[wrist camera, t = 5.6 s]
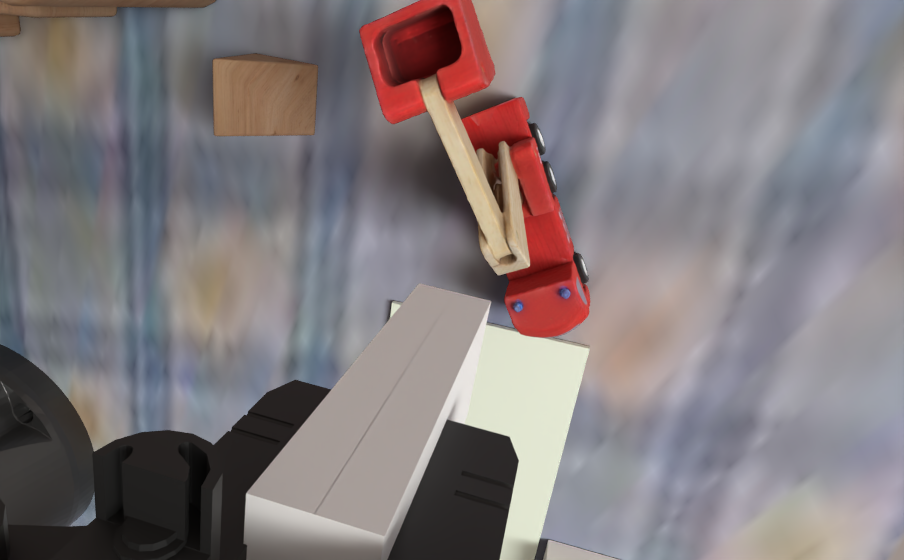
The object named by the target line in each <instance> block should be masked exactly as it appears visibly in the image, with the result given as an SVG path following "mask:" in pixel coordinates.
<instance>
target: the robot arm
mask: <svg viewBox="0 0 904 560" xmlns="http://www.w3.org/2000/svg"><path fill="white" fill-rule="evenodd" d="M490 304H491V301H489V300H485V299H481V298H477V297H473V296H469V295H465V294H460V293H456V292H452V291H448V290H444V289H440V288H436V287H432V286H428V285H423V284H418V285H417V287H416V288H415V289H414V290H413V291H412V293H411V294H410V295H409V296H408V297H407V299H406V300H405V301H404V302H403V304H402V305H401V306H400V307H399V308H398V310H397V311H396V312H395V313H394V314H393V316H392V317H391V318H390V319H389V321H388V322H387V323H386V324H385V325H384V327H383V328H382V329H381V330H380V331H379V333H378V334H377V335H376V336H375V338H374V339H373V340H372V341H371V342H370V344H369V345H368V346H367V347H366V348H365V350H364V351H363V352H362V353H361V355H360V356H359V357H358V358H357V359H356V361H355V362H354V363H353V364H352V365H351V367H350V368H349V369H348V370H347V372H346V373H345V374H344V375H343V376H342V378H341V379H340V380H339V381H338V382H337V384H336V385H335V386H334V387H333V389H332V390H330V389H327V388H323V387H320V386H316V385H312V384H309V383H305V382H301V381H298V380H294V381H292V382H289V383H287V384H285V385H283V386H280V387H278V388H276V389H274V390H272V391H269V392H267V393H266V394H265V395H264V396H263V397H262V398H261V399H260V400H259V401H258V402H257V403H256V404H255V405H254V406H253V407H252V408H251V409H250V410H249V411H248V414H247V415H244V416H243V417H242V418H241V419H240V420H239V421H238V422H237V423H236V424H235V425H234V426H233V427H232V430H231V432H230V431H228V432H227V433H226V434H225V435H224V436H223V437H222V438H221V439H220V440H219V441H218V442H216V443H215V444H214V445H213V444H212V443H210V442H208V441H206V440H204V439H202V438H200V437H198V436H196V435H194V434H190V433H184V432H177V431H171V430H165V431H152V432H141V433H138V434H134V435H131V436H127V437H124V438H121V439H117V440H115V441H113V442H111V443H109V444H107V445H106V446H104V447H102V448H100V449H99V450H97V451H95V452H94V451H93V447H92V444H91V441H90V438H89V435H88V433H87V430H86V428H85V426H84V424H83V422H82V420H81V418H80V416H79V415H78V413H77V411H76V410H75V408H74V407H73V405H72V404H71V402H70V401H69V400H68V398H67V397H66V396H65V394H64V393H63V392H62V391H61V390H60V388H59V387H58V386H57V385H56V384H55V383H54V382H53V381H52V380H51V379H50V378H49V377H48V376H47V375H46V374H45V373H44V372H43V371H41V370H40V369H39V368H38V367H37V366H35V365H34V364H33V363H32V362H30V361H29V360H27V359H26V358H24V357H23V356H21V355H20V354H18V353H16V352H15V351H13V350H11V349H9V348H7V347H5V346H3V345H1V344H0V560H500V555H501V550H502V545H503V539H504V534H505V529H506V524H507V519H508V514H509V508H510V504H511V499H512V494H513V488H514V483H515V478H516V473H517V468H518V463H519V460H518V457H517V454H516V452H515V449H514V447H513V444H512V442H511V439H510V437H509V436H505V435H502V434H498V433H494V432H491V431H487V430H484V429H480V428H476V427H473V426H469V425H466V424H464V423H465V420H466V418H467V414H468V409H469V405H470V400H471V395H472V390H473V385H474V380H475V376H476V371H477V366H478V361H479V356H480V352H481V347H482V342H483V337H484V332H485V328H486V323H487V318H488V313H489V308H490ZM94 491H95V508H96V518H95V519H94V520H93V521H92V522H91V523H90V524H89V525H87V526H73V527H68V526H70V525H71V524H72V523H73V522H74V521H75V520H77V519H78V518H79V517H80V516H81V515H82V514H83V513H84V511H85V510H86V509H87V507H88V506H89V504H90V502H91V500H92V497H93V494H94Z"/></svg>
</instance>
